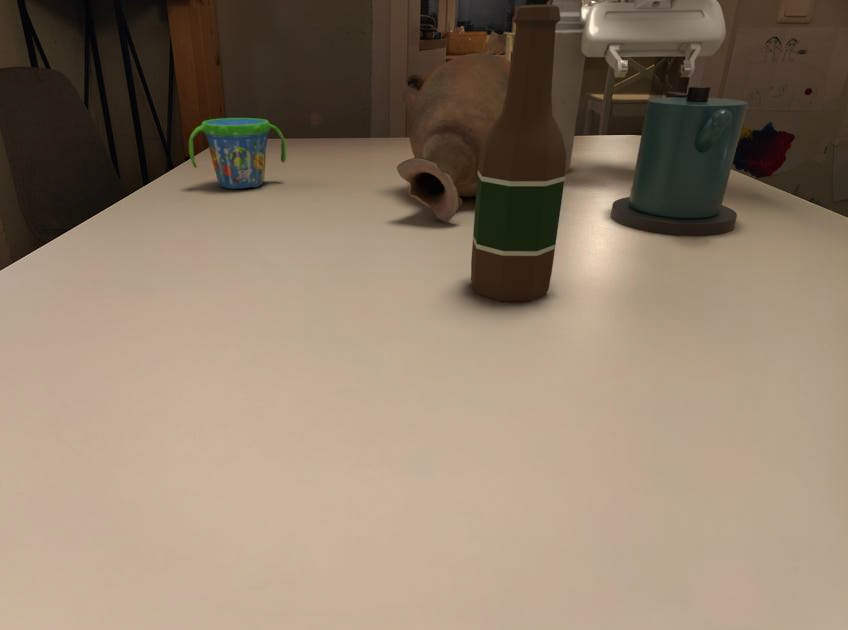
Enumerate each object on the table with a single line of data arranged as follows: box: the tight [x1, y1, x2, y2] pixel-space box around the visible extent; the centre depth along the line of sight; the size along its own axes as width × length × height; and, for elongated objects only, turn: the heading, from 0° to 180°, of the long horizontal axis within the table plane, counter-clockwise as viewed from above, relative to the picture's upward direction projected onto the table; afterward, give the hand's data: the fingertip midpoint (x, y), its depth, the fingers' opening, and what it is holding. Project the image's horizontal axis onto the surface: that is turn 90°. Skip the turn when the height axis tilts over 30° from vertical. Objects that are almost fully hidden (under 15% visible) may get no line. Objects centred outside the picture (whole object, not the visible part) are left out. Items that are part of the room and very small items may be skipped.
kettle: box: [629, 85, 749, 218], centre depth 78 cm, size 21×11×15 cm, turn 172°
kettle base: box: [610, 196, 738, 237], centre depth 81 cm, size 15×15×2 cm
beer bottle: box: [470, 4, 566, 302], centre depth 54 cm, size 8×8×24 cm
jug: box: [396, 52, 511, 223], centre depth 88 cm, size 20×20×30 cm
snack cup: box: [188, 117, 287, 190], centre depth 100 cm, size 16×10×10 cm
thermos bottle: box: [551, 0, 586, 173], centre depth 106 cm, size 8×8×28 cm
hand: (654, 74), depth 91 cm, fingers open, 8 cm apart
